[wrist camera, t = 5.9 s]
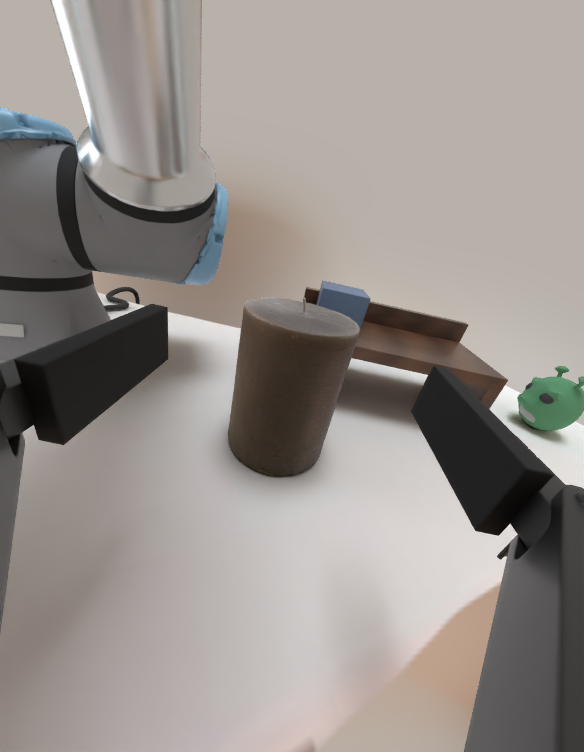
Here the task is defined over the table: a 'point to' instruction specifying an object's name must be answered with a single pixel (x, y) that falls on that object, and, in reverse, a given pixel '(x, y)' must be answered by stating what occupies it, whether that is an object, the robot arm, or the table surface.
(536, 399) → the alien toy
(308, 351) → the pillar candle
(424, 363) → the shelf
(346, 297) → the slate box
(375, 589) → the table surface
